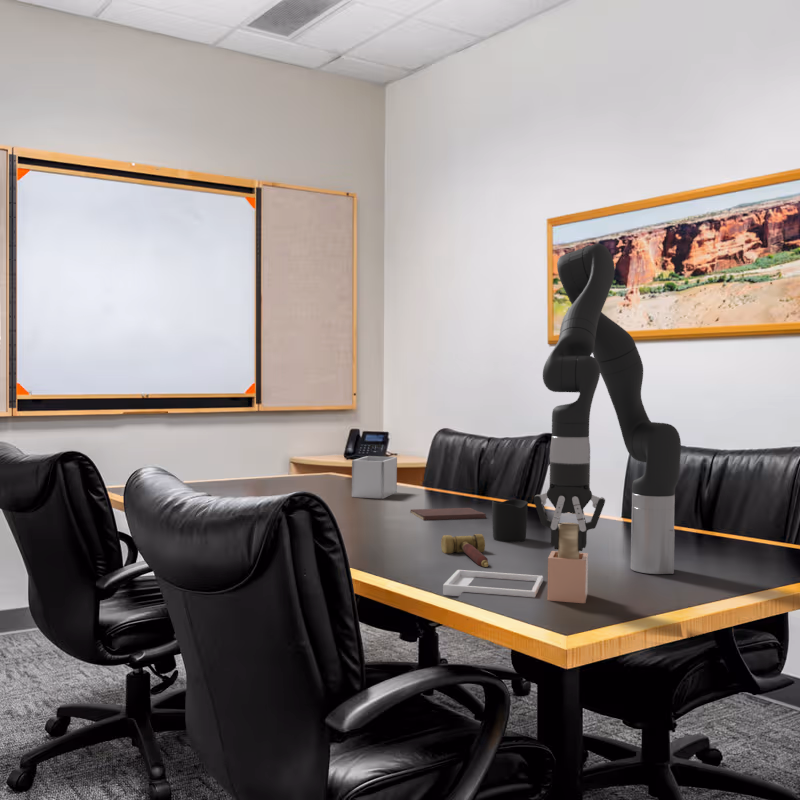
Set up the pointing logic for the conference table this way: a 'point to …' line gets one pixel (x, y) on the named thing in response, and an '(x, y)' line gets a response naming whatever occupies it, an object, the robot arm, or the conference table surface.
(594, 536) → the conference table surface
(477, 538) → the gavel
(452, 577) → the tray
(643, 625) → the conference table surface
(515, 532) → the pen holder
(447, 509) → the notebook
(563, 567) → the pink open-ended box
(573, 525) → the dowel pin
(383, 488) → the gray open-top cube
